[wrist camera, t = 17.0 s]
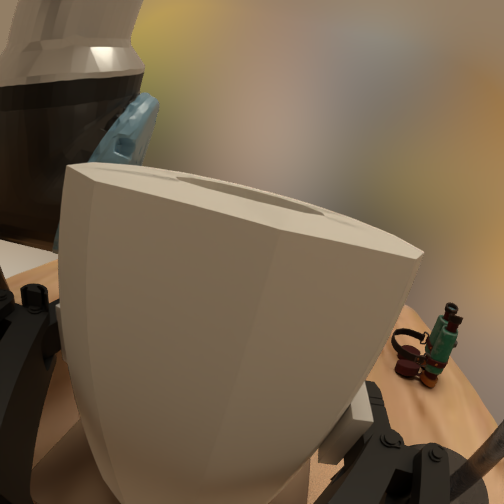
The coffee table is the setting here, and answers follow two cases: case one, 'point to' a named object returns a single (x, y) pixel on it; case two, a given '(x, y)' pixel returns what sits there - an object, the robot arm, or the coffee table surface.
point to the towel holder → (473, 469)
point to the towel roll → (215, 328)
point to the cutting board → (92, 484)
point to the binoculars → (429, 348)
